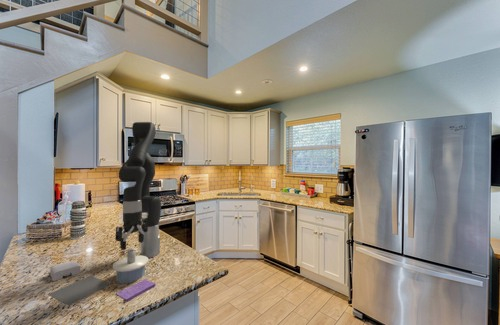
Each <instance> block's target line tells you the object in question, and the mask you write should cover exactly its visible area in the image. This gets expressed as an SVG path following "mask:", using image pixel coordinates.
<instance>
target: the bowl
mask: <svg viewBox="0 0 500 325" xmlns="http://www.w3.org/2000/svg"><path fill="white" fill-rule="evenodd" d="M145 274H146V265H145V266H143V267H141V268H139V269H136V270H132V271H126V272H119V271H115V276H116V277H115V278H116V279H115V280H116V282H117V283H119V284H130V283H134V282H138V281H139V280H141V279H142V278H143V277H144V276H145Z"/></svg>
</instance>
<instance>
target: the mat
mask: <svg viewBox="0 0 500 325" xmlns="http://www.w3.org/2000/svg"><path fill="white" fill-rule="evenodd" d="M111 285H112V282H111V283H110V282H108V281H105V280H103V279H100V278H98V277H95V276H92V275H90V276H87V277H85V278H83V279H79V280H78V281H75V282H73V283H70V284H68V285H66V286H64V287H61V288H59V289H57V290H54V291H53V292H50V293H48V294H47V295H48V296H50V297H51V298H54V299H55V300H59V301H60V302H62V303H64V304H66V305H68V306H71V305H73V304H75V303H78V302H79V301H82V300H83V299H85V298H87V297H89V296H91V295H93V294H95V293H97V292H99V291H101V290H103V289H104V288H107V287H109V286H111Z"/></svg>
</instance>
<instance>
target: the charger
mask: <svg viewBox="0 0 500 325" xmlns="http://www.w3.org/2000/svg"><path fill="white" fill-rule="evenodd" d="M78 274H81V265H80V264H79V263H78V261H77V260H71V261H70V260H68V261H64V262H62V263H57V264H55V265H52V266H51V267H50V272H49V275H50V277H51V279H52V282H55V281H58V280H62V279H64V278H63V277H67V276H68V277H69V276H75V275H78Z"/></svg>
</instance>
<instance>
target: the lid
mask: <svg viewBox="0 0 500 325" xmlns="http://www.w3.org/2000/svg"><path fill="white" fill-rule="evenodd" d="M126 254H127V255H126V257H123V258H121V259H119V260H117V261H115V262H114V263H113V264H112V269H113V271H115V272H116V271H119V272H126V271H132V270H136V269H139V268H141V267H143V266H145V267H146V265H147V264H148V263H149V258H148V257H146V256H141V255H140V254H139V255H138V254H137V255H136V249H129V250H127V251H126Z"/></svg>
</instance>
